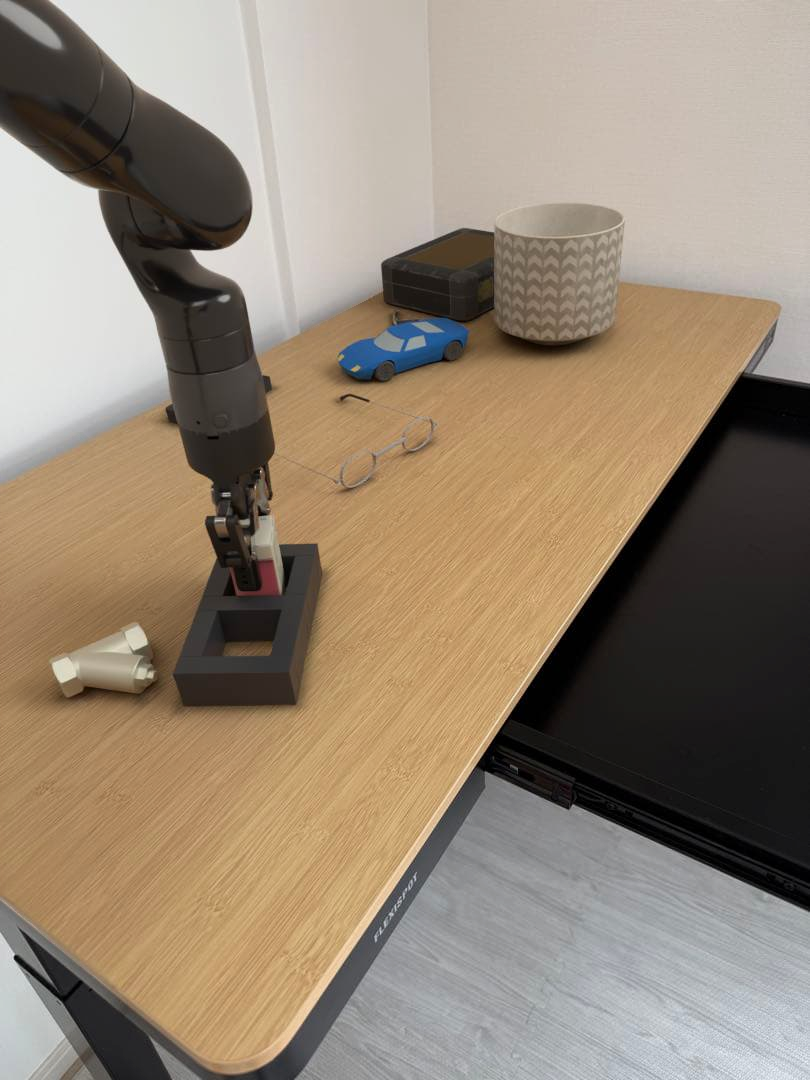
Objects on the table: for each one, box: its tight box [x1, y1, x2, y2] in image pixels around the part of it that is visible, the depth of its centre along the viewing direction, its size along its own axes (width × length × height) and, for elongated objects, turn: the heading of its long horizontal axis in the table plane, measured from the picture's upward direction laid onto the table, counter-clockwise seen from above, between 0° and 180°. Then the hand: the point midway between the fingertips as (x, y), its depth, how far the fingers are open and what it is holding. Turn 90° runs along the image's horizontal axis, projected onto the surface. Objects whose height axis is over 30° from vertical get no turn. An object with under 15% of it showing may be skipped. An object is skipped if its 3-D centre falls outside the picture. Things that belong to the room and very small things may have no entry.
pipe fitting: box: [48, 621, 159, 699], centre depth 70 cm, size 8×4×7 cm
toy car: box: [336, 317, 470, 382], centre depth 122 cm, size 9×20×5 cm, turn 120°
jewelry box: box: [380, 227, 494, 322], centre depth 145 cm, size 25×20×8 cm
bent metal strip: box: [391, 310, 420, 326], centre depth 137 cm, size 7×1×5 cm
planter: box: [493, 201, 626, 347], centre depth 123 cm, size 19×19×18 cm
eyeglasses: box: [273, 393, 438, 489], centre depth 103 cm, size 18×19×4 cm
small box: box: [230, 514, 286, 596], centre depth 75 cm, size 5×4×8 cm
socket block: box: [172, 542, 323, 707], centre depth 74 cm, size 18×10×4 cm, turn 178°
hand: (256, 568), depth 75 cm, fingers closed on small box, 5 cm apart
